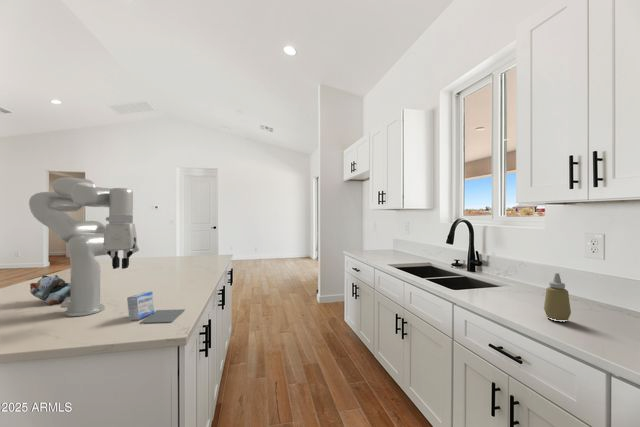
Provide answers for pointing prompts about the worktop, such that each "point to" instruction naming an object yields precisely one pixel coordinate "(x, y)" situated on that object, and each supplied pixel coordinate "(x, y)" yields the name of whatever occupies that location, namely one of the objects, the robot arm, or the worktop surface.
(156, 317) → the mat
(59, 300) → the blue crumpled lump
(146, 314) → the medicine box
